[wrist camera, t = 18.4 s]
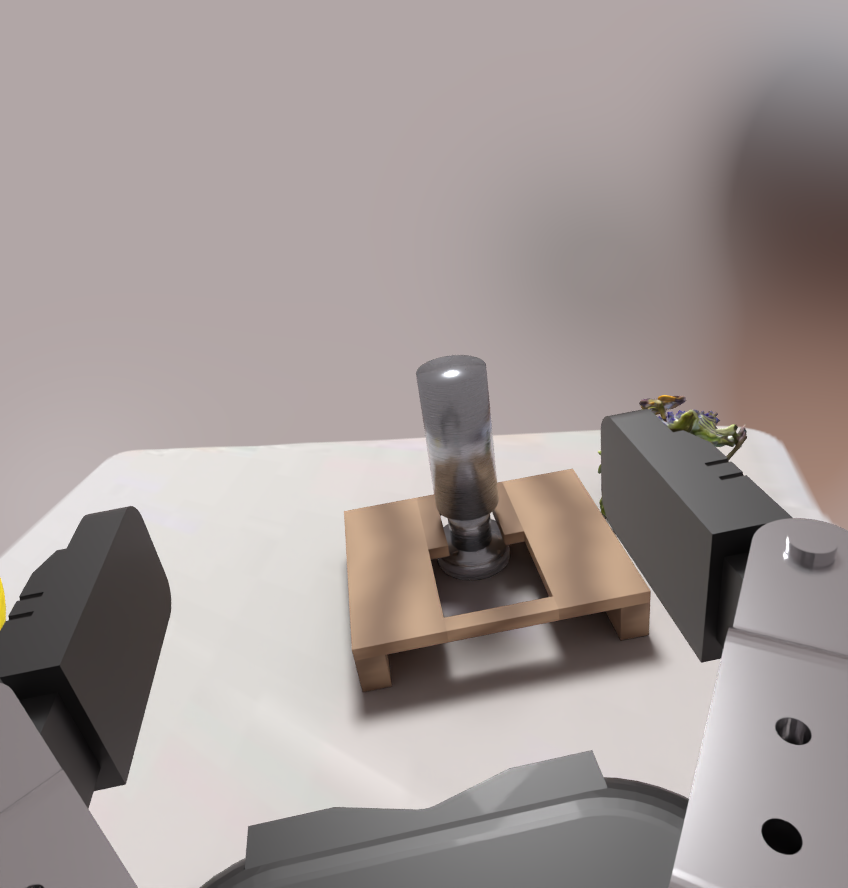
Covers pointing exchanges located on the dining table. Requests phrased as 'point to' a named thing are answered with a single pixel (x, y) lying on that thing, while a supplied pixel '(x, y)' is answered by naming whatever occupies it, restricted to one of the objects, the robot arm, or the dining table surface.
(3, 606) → the banana
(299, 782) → the dining table surface
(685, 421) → the passion flower
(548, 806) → the robot arm
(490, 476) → the keyhole post
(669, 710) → the dining table surface
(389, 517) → the keyhole plate
